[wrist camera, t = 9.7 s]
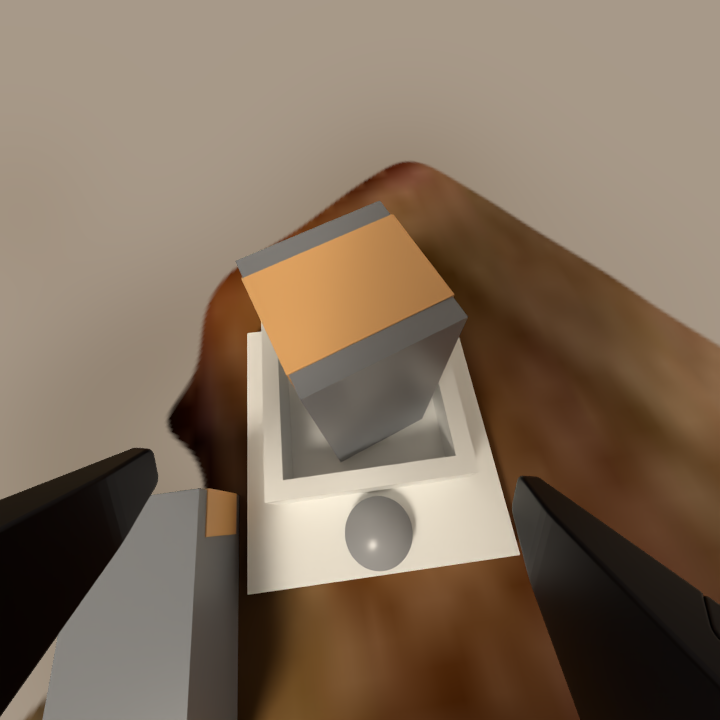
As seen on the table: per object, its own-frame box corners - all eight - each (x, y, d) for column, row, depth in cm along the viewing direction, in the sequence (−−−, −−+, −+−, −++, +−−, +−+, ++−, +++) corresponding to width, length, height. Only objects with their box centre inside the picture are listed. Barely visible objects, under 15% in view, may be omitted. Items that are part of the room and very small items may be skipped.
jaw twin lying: (239, 765, 14) (180, 871, 10) (120, 783, 14) (8, 897, 10) (241, 494, 18) (200, 486, 14) (149, 507, 18) (80, 503, 14)
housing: (513, 553, 16) (541, 560, 14) (253, 591, 16) (228, 606, 13) (448, 313, 22) (458, 283, 19) (251, 339, 21) (233, 313, 19)
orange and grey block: (422, 418, 18) (470, 314, 9) (339, 462, 17) (298, 400, 8) (379, 346, 20) (381, 198, 11) (302, 384, 19) (232, 260, 10)
